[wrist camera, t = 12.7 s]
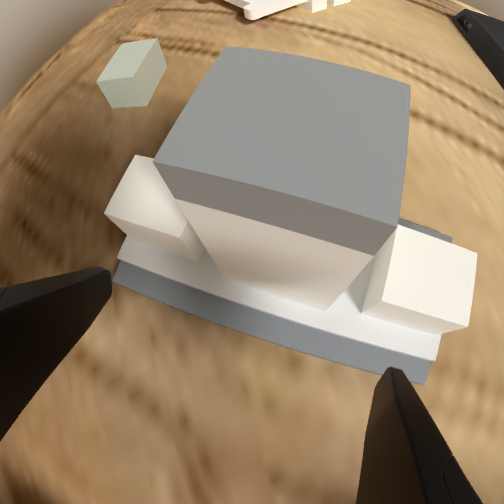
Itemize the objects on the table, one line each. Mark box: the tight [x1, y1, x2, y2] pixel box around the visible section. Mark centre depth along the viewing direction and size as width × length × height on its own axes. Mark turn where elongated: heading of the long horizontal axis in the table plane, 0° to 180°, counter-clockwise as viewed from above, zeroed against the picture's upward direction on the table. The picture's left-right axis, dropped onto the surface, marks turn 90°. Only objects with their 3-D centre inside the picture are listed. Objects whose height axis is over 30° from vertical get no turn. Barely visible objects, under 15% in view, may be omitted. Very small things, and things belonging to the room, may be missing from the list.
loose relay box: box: [96, 38, 167, 108], centre depth 26 cm, size 6×4×4 cm, turn 171°
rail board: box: [104, 155, 477, 385], centre depth 18 cm, size 10×21×6 cm, turn 70°
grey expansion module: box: [153, 46, 410, 312], centre depth 13 cm, size 5×6×12 cm
